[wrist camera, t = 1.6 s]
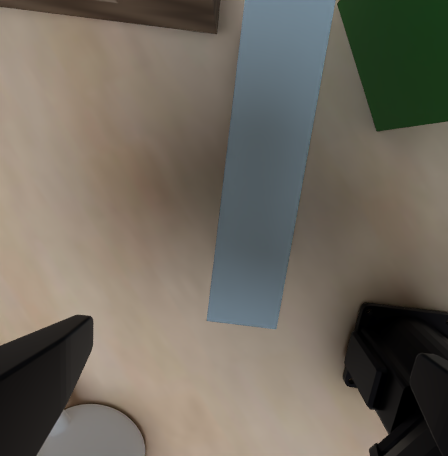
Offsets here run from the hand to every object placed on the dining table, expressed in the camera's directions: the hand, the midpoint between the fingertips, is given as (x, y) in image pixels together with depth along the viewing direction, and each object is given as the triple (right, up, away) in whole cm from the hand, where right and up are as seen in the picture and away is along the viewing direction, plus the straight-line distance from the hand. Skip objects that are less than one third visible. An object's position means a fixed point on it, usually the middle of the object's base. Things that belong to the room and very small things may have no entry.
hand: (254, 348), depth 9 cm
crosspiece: (+1, +8, +11) cm, 13 cm away
